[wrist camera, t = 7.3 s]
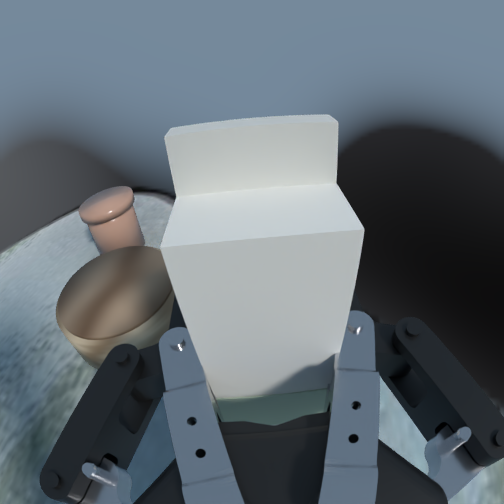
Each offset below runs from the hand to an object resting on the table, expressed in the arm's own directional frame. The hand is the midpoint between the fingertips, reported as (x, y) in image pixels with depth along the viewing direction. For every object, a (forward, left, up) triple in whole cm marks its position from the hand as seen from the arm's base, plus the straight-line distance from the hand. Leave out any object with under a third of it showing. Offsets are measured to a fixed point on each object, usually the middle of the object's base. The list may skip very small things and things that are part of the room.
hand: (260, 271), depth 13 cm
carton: (0, -3, -7) cm, 7 cm away
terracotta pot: (-20, +25, -15) cm, 35 cm away
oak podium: (-15, +11, -15) cm, 23 cm away
